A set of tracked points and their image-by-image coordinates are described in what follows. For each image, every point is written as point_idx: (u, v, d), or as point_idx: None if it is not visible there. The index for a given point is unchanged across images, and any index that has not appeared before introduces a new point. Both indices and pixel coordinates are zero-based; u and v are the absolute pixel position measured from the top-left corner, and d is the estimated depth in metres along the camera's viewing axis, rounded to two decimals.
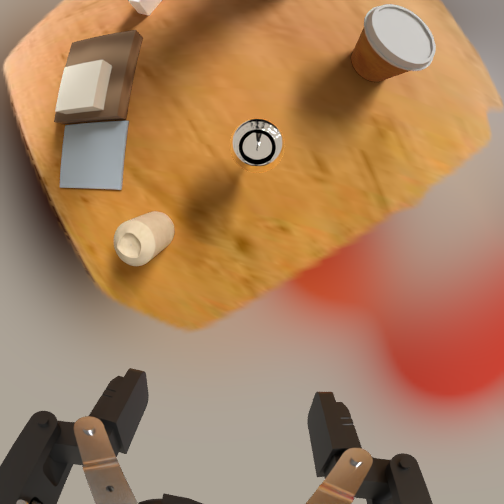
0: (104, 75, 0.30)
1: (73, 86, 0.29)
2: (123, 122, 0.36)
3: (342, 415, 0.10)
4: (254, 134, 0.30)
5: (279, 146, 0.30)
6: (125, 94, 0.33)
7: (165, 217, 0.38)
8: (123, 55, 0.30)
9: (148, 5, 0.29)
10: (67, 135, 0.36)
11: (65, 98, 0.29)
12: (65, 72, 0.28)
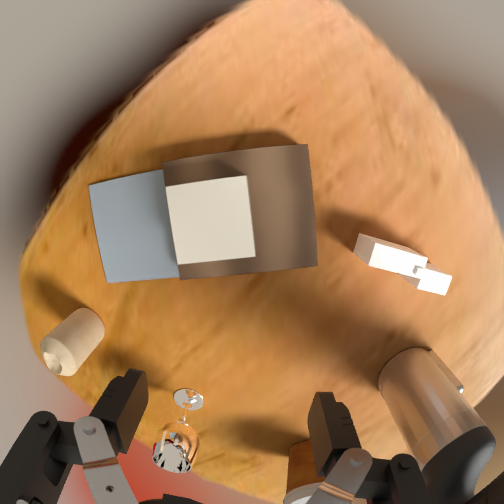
0: None
1: (208, 211, 0.24)
2: None
3: (342, 415, 0.10)
4: None
5: None
6: None
7: (100, 340, 0.33)
8: (272, 261, 0.29)
9: None
10: (153, 178, 0.29)
11: (187, 202, 0.24)
12: (235, 182, 0.24)
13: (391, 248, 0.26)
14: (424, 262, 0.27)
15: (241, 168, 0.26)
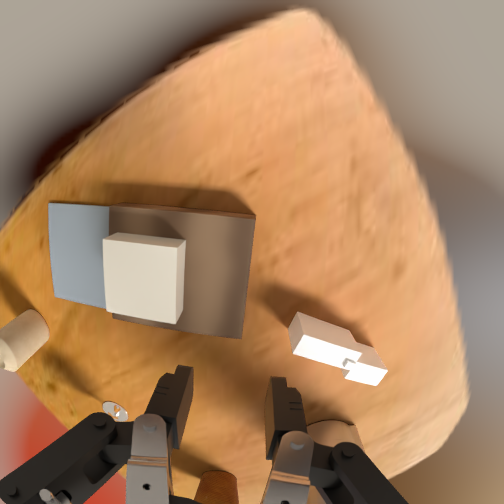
0: None
1: (137, 273, 0.23)
2: None
3: (293, 400, 0.11)
4: None
5: None
6: None
7: None
8: (197, 325, 0.28)
9: None
10: (104, 214, 0.28)
11: (119, 259, 0.23)
12: (165, 252, 0.23)
13: (321, 341, 0.26)
14: (357, 356, 0.27)
15: (181, 230, 0.26)
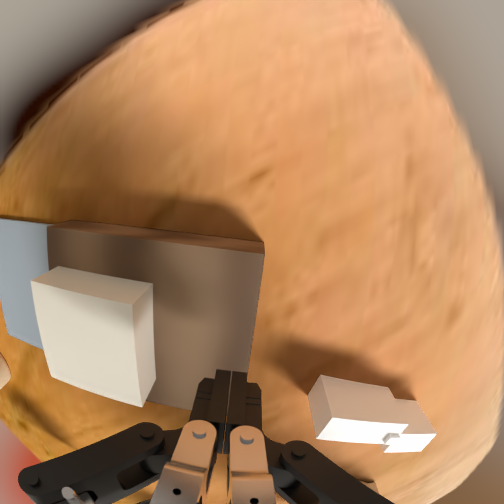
0: None
1: (80, 335, 0.13)
2: None
3: (252, 395, 0.12)
4: None
5: None
6: None
7: (5, 383, 0.21)
8: (178, 399, 0.18)
9: None
10: None
11: (54, 313, 0.13)
12: (115, 309, 0.13)
13: (356, 421, 0.16)
14: (402, 428, 0.16)
15: (146, 269, 0.15)
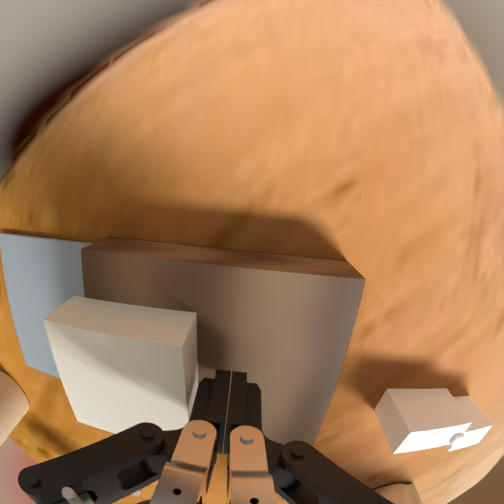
0: None
1: (113, 381, 0.11)
2: None
3: (252, 395, 0.12)
4: None
5: None
6: None
7: (24, 414, 0.19)
8: None
9: None
10: (78, 255, 0.16)
11: (78, 357, 0.11)
12: (159, 353, 0.11)
13: (429, 430, 0.14)
14: (465, 427, 0.14)
15: (224, 301, 0.13)
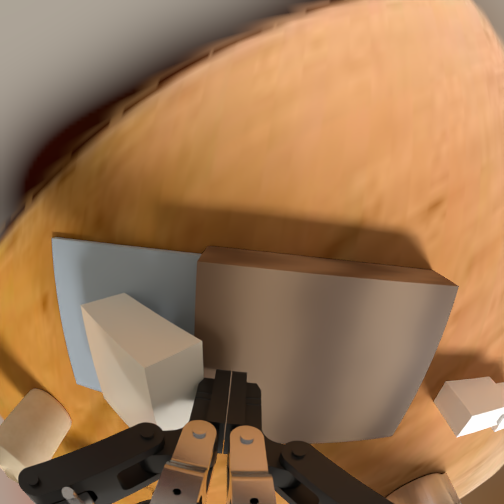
0: None
1: (115, 375, 0.12)
2: None
3: (252, 395, 0.12)
4: None
5: None
6: None
7: (65, 434, 0.19)
8: (340, 434, 0.16)
9: None
10: (169, 266, 0.16)
11: (97, 344, 0.13)
12: (132, 365, 0.10)
13: (485, 413, 0.14)
14: None
15: (353, 311, 0.13)
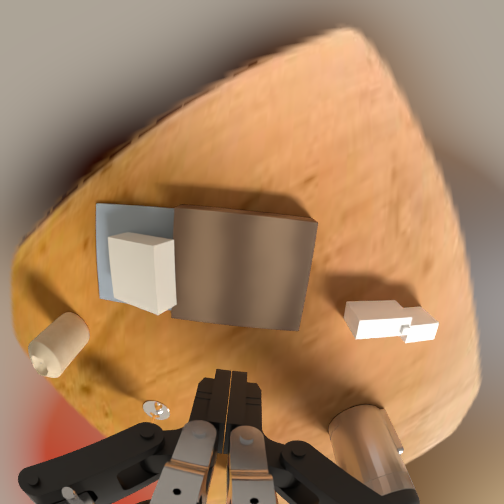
0: None
1: (130, 266, 0.27)
2: None
3: (252, 395, 0.12)
4: None
5: None
6: None
7: None
8: (259, 320, 0.30)
9: None
10: (162, 215, 0.30)
11: (118, 254, 0.28)
12: (146, 249, 0.26)
13: (375, 320, 0.29)
14: (409, 321, 0.29)
15: (250, 232, 0.28)
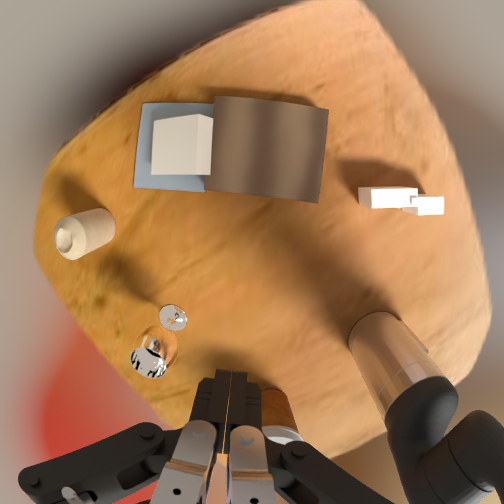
0: None
1: (173, 138, 0.31)
2: (203, 186, 0.37)
3: (252, 395, 0.12)
4: None
5: None
6: None
7: (108, 240, 0.38)
8: (283, 190, 0.34)
9: None
10: (201, 108, 0.34)
11: (163, 131, 0.32)
12: (191, 118, 0.30)
13: (385, 189, 0.32)
14: (415, 192, 0.32)
15: (275, 113, 0.32)
